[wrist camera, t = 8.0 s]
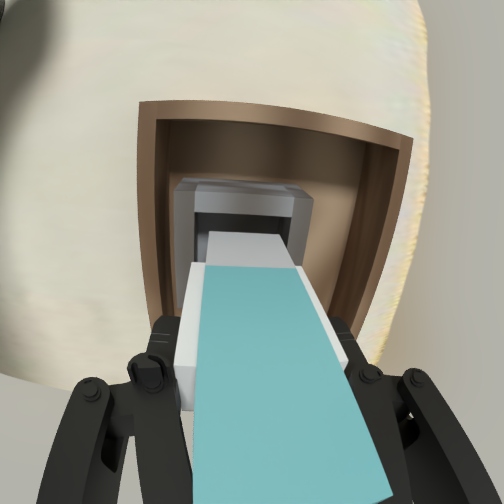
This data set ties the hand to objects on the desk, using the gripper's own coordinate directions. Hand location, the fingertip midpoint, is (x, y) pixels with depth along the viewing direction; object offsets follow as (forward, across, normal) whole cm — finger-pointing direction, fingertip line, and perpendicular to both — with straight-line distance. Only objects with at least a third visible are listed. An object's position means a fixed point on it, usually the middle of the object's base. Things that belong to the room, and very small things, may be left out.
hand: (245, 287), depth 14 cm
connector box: (+8, +2, 0) cm, 8 cm away
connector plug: (+3, 0, 0) cm, 3 cm away
